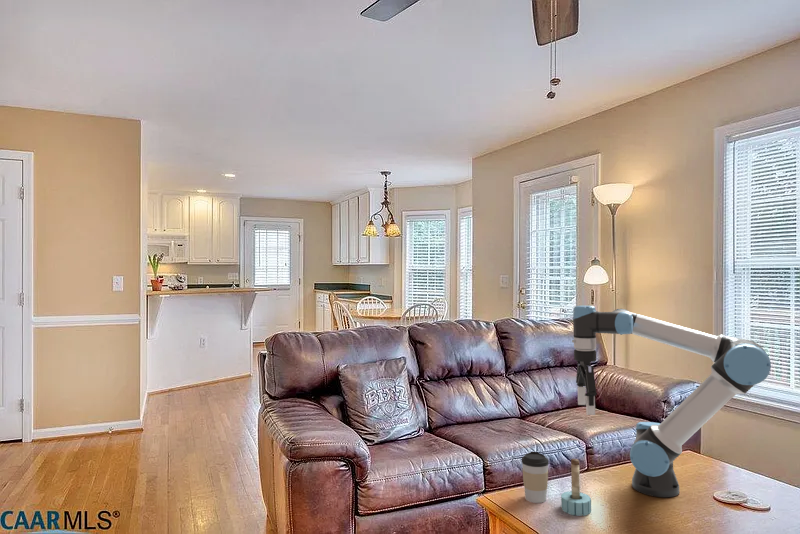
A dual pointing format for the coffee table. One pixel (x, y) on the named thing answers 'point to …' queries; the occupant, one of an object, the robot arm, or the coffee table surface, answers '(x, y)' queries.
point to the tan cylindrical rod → (575, 479)
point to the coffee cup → (535, 476)
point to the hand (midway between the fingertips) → (586, 409)
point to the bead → (576, 504)
